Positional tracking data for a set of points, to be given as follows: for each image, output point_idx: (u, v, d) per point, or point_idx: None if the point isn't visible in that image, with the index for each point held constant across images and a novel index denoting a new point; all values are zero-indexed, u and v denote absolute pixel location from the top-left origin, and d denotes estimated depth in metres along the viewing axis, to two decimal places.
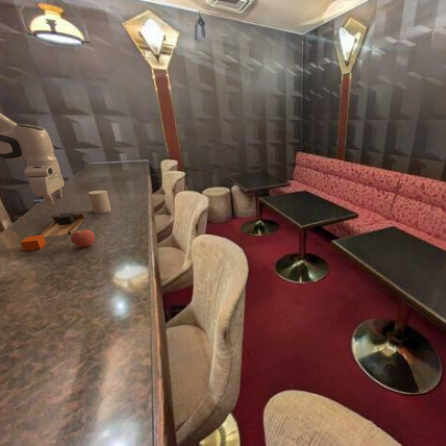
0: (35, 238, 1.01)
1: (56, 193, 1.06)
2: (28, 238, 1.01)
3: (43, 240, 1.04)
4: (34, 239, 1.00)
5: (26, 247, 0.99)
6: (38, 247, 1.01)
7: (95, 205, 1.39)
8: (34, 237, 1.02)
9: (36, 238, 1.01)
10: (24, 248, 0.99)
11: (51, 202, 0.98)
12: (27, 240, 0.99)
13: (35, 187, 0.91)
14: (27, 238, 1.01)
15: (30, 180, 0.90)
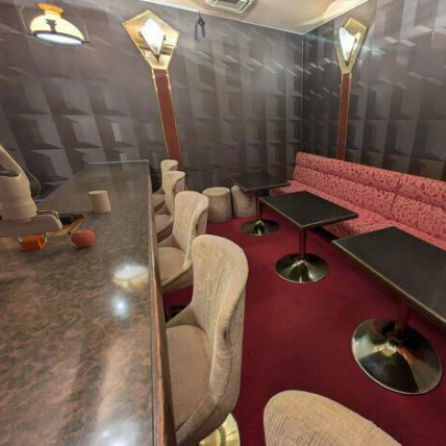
0: (35, 238, 1.01)
1: None
2: (28, 238, 1.01)
3: None
4: (34, 239, 1.00)
5: (26, 247, 0.99)
6: (38, 247, 1.01)
7: (95, 205, 1.39)
8: (34, 237, 1.02)
9: (36, 238, 1.01)
10: (24, 248, 0.99)
11: None
12: (27, 240, 0.99)
13: None
14: (27, 238, 1.01)
15: None
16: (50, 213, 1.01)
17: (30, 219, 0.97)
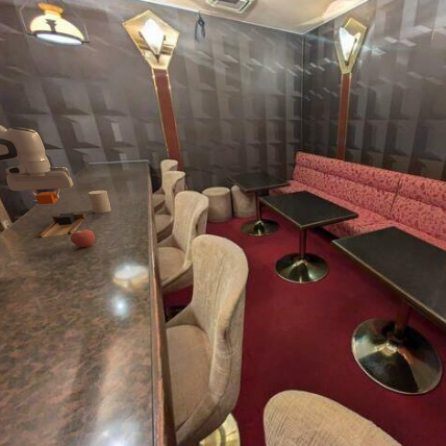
0: (49, 193, 1.10)
1: None
2: (42, 193, 1.10)
3: None
4: (48, 194, 1.09)
5: (40, 200, 1.08)
6: (51, 201, 1.10)
7: (95, 205, 1.39)
8: (47, 193, 1.11)
9: (49, 193, 1.10)
10: (39, 201, 1.08)
11: None
12: (41, 194, 1.08)
13: None
14: (41, 193, 1.10)
15: None
16: (62, 170, 1.10)
17: (44, 174, 1.06)
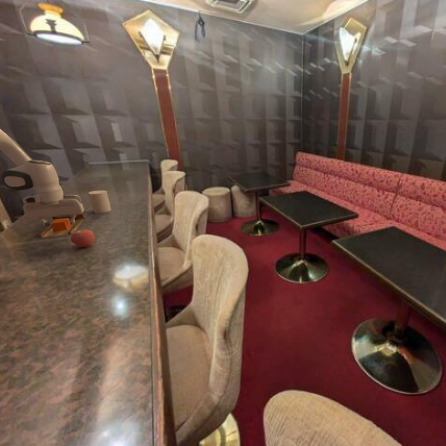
0: (63, 220, 1.18)
1: None
2: (56, 220, 1.18)
3: (68, 222, 1.21)
4: (62, 221, 1.17)
5: (55, 227, 1.16)
6: (65, 228, 1.17)
7: (95, 205, 1.39)
8: (61, 219, 1.19)
9: (63, 220, 1.18)
10: (53, 228, 1.15)
11: None
12: (56, 222, 1.16)
13: None
14: (55, 220, 1.18)
15: None
16: (74, 198, 1.17)
17: (58, 202, 1.14)
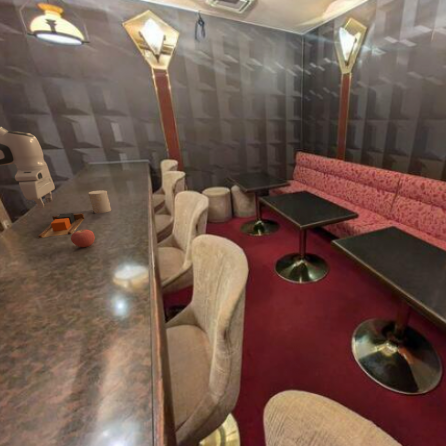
0: (63, 220, 1.18)
1: (46, 197, 1.10)
2: (56, 220, 1.18)
3: (68, 222, 1.21)
4: (62, 221, 1.17)
5: (55, 227, 1.16)
6: (65, 228, 1.17)
7: (95, 205, 1.39)
8: (61, 219, 1.19)
9: (63, 220, 1.18)
10: (53, 228, 1.15)
11: (42, 205, 1.03)
12: (56, 222, 1.16)
13: (25, 191, 0.96)
14: (55, 220, 1.18)
15: (20, 184, 0.95)
16: None
17: None
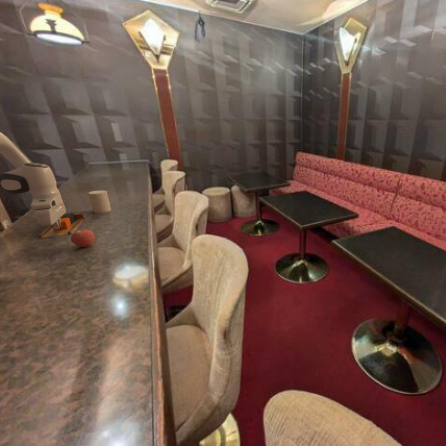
0: (63, 219, 1.19)
1: None
2: None
3: (69, 222, 1.22)
4: (62, 220, 1.18)
5: None
6: (66, 227, 1.18)
7: (95, 205, 1.39)
8: (62, 219, 1.19)
9: (64, 220, 1.19)
10: None
11: (57, 227, 1.14)
12: None
13: (40, 218, 1.04)
14: None
15: (36, 212, 1.03)
16: None
17: None
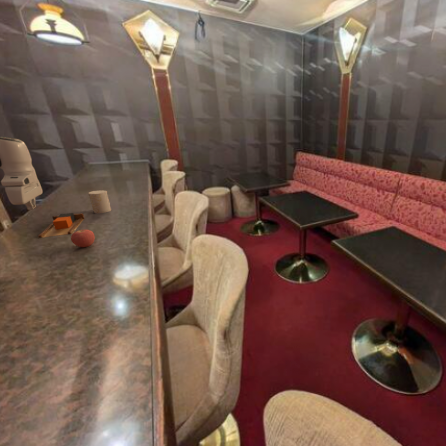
0: (64, 218, 1.20)
1: None
2: (58, 218, 1.20)
3: (70, 221, 1.23)
4: (63, 219, 1.19)
5: (57, 226, 1.18)
6: (67, 226, 1.19)
7: (95, 205, 1.39)
8: (63, 218, 1.21)
9: (65, 219, 1.20)
10: (55, 226, 1.17)
11: (31, 207, 1.07)
12: (58, 220, 1.18)
13: (11, 196, 0.97)
14: (57, 218, 1.20)
15: (6, 189, 0.96)
16: None
17: None
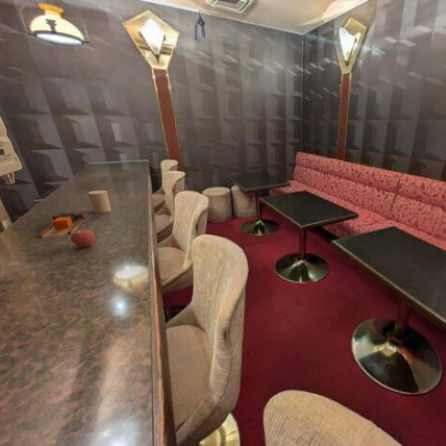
0: (64, 218, 1.20)
1: None
2: (58, 218, 1.20)
3: (70, 221, 1.23)
4: (63, 219, 1.19)
5: (57, 226, 1.18)
6: (67, 226, 1.19)
7: (95, 205, 1.39)
8: (63, 218, 1.21)
9: (65, 219, 1.20)
10: (55, 226, 1.17)
11: (9, 181, 1.02)
12: (58, 220, 1.18)
13: None
14: (57, 218, 1.20)
15: None
16: None
17: None
